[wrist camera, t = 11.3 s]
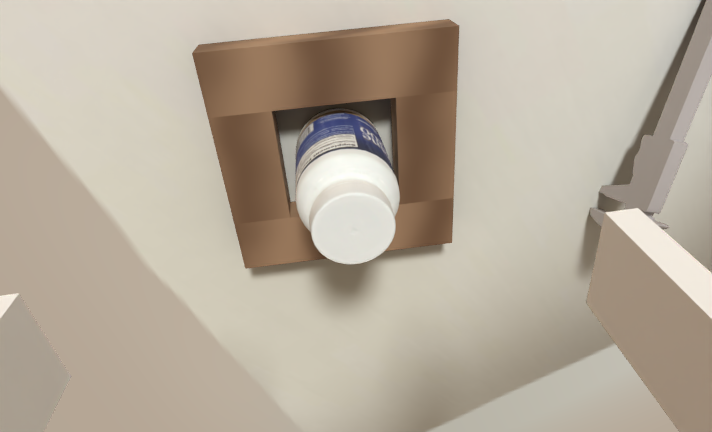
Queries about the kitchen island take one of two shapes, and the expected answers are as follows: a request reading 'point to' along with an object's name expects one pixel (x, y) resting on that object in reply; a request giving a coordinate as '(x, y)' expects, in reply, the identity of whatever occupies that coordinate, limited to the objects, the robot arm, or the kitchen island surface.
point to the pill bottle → (345, 187)
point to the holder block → (327, 87)
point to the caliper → (668, 131)
